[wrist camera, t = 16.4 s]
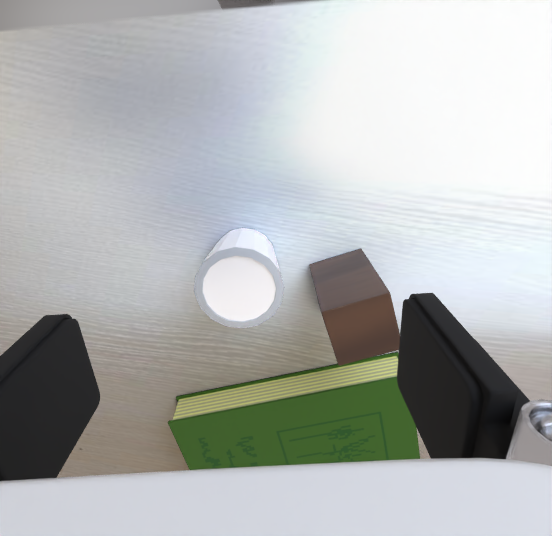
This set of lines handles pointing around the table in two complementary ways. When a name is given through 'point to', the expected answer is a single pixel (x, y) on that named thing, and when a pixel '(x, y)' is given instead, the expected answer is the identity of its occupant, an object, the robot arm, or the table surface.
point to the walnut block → (355, 307)
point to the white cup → (240, 280)
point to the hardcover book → (299, 419)
